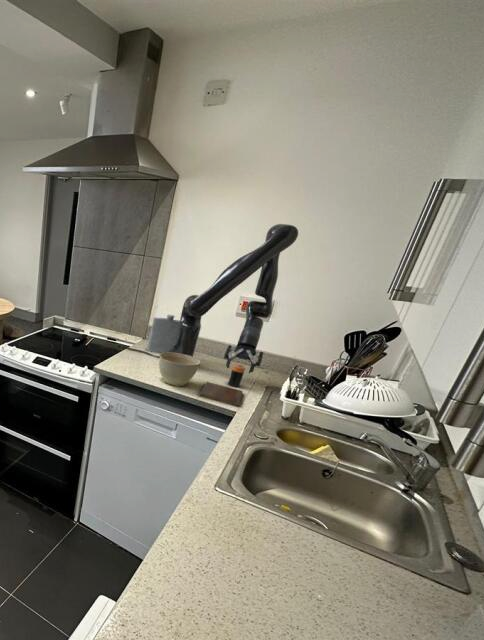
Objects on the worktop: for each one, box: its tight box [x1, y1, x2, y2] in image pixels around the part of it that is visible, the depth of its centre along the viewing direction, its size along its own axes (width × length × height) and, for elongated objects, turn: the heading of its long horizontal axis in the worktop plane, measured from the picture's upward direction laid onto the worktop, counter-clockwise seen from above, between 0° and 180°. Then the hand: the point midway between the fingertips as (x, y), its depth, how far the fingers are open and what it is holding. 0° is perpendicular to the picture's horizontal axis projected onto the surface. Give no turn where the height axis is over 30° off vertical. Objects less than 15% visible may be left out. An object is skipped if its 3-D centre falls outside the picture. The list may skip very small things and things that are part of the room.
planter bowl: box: [158, 352, 201, 387], centre depth 167 cm, size 16×16×11 cm
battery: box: [227, 364, 246, 388], centre depth 170 cm, size 4×4×9 cm
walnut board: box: [199, 381, 243, 407], centre depth 160 cm, size 14×16×1 cm
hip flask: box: [146, 314, 180, 354], centre depth 204 cm, size 16×4×20 cm, turn 79°
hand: (238, 369), depth 169 cm, fingers open, 8 cm apart
